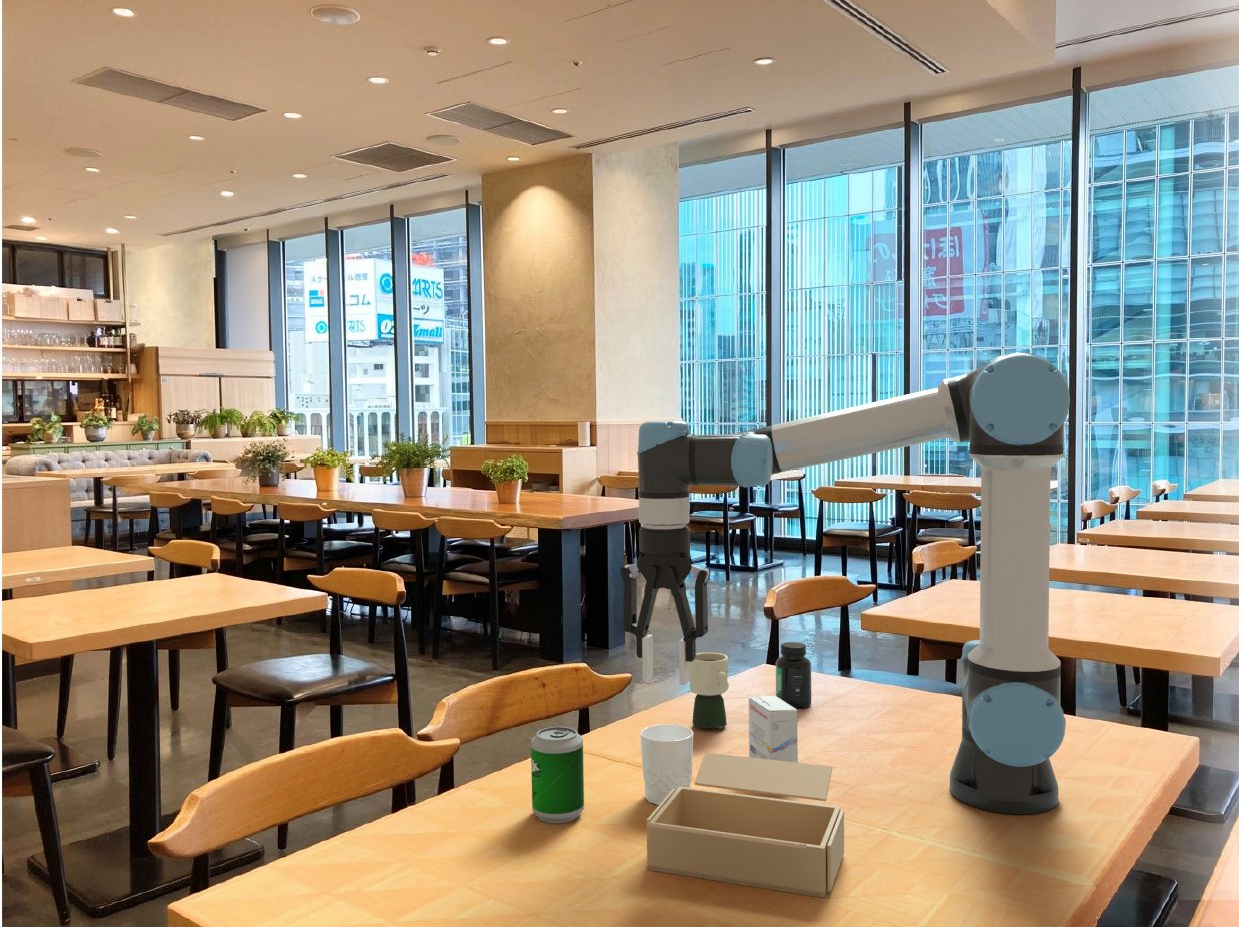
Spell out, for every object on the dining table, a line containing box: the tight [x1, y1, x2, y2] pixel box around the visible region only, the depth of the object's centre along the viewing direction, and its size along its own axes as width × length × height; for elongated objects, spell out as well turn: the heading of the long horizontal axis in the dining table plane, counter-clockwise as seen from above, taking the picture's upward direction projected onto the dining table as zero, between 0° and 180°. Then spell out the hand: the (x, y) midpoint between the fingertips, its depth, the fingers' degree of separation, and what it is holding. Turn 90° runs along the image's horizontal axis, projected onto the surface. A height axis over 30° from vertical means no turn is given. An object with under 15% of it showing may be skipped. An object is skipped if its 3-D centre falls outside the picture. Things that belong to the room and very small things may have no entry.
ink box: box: [748, 695, 799, 763], centre depth 156 cm, size 8×5×12 cm, turn 16°
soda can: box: [530, 726, 585, 824], centre depth 142 cm, size 8×8×12 cm
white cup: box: [640, 723, 694, 806], centre depth 148 cm, size 8×8×10 cm
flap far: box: [694, 752, 833, 802], centre depth 136 cm, size 18×1×6 cm
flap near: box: [646, 822, 806, 848], centre depth 117 cm, size 18×1×6 cm
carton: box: [646, 787, 845, 899], centre depth 127 cm, size 23×13×6 cm, turn 69°
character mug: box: [689, 652, 730, 729], centre depth 180 cm, size 11×7×13 cm, turn 26°
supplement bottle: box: [775, 641, 812, 710], centre depth 193 cm, size 7×7×12 cm
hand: (666, 680), depth 147 cm, fingers open, 5 cm apart
